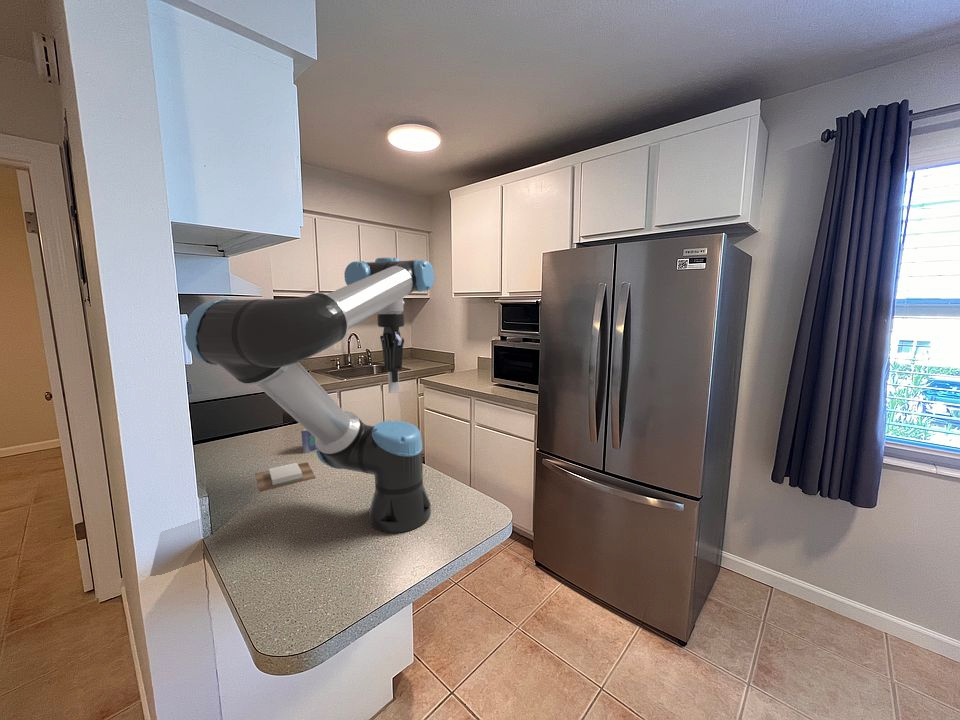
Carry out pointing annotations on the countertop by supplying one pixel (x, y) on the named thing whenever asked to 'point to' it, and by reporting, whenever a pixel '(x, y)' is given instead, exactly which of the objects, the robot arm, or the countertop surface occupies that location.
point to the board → (266, 483)
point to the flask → (308, 441)
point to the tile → (285, 473)
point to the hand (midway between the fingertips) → (393, 392)
